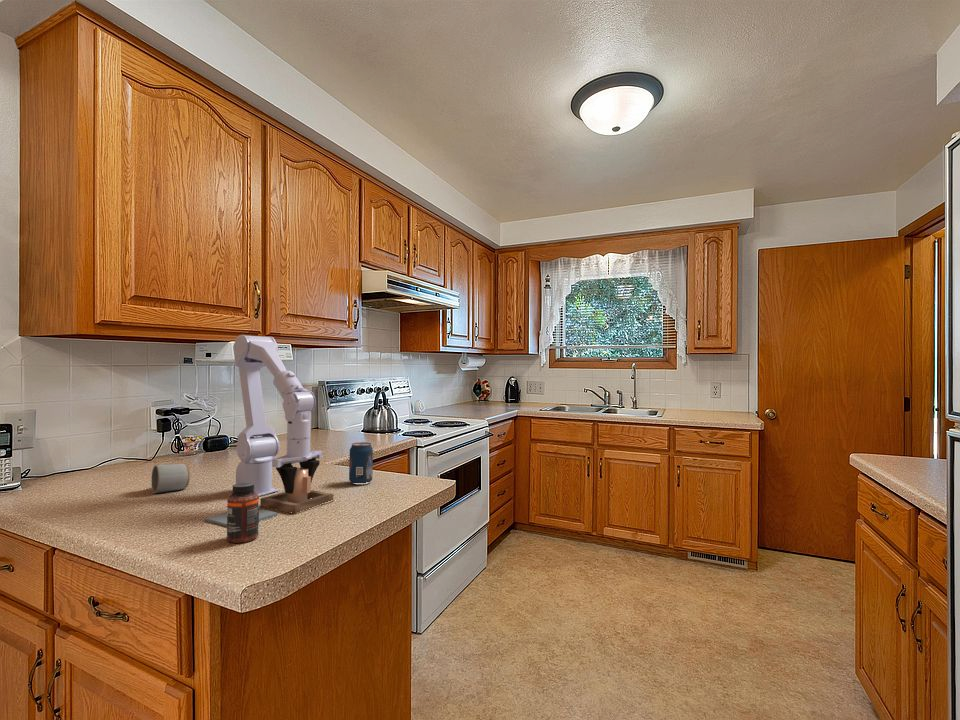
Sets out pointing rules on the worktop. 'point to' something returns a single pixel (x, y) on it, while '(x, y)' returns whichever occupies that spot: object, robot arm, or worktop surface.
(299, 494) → the peach capsule with nub
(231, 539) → the supplement bottle
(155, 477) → the grey cylinder
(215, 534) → the worktop surface
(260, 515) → the mat
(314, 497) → the frame
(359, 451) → the soda can
